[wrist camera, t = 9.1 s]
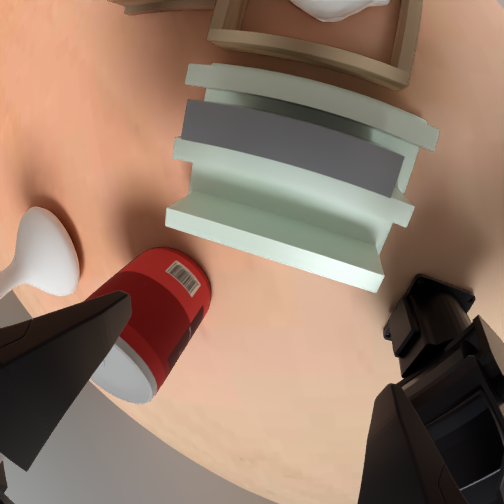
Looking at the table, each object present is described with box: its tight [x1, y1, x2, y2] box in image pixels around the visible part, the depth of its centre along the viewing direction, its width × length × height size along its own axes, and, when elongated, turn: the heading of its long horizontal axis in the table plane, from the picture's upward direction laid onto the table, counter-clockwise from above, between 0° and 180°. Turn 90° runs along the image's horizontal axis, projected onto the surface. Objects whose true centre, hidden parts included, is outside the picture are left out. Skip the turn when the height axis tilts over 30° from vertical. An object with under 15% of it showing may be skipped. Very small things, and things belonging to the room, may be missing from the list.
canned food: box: [85, 247, 211, 404], centre depth 21 cm, size 8×8×11 cm
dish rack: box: [165, 63, 440, 293], centre depth 16 cm, size 14×11×5 cm
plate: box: [181, 99, 405, 198], centre depth 13 cm, size 8×2×8 cm, turn 78°
